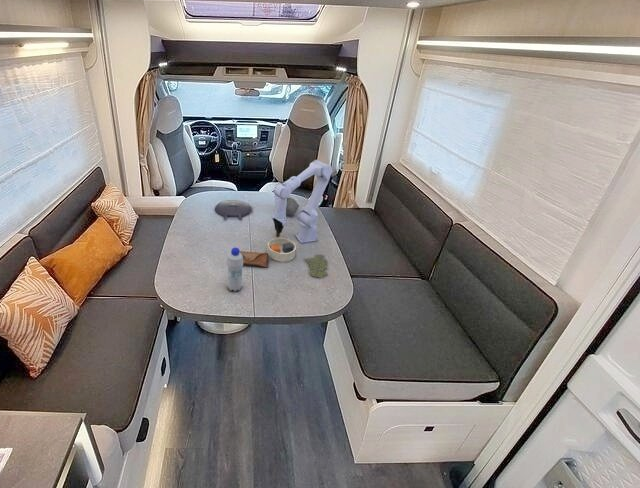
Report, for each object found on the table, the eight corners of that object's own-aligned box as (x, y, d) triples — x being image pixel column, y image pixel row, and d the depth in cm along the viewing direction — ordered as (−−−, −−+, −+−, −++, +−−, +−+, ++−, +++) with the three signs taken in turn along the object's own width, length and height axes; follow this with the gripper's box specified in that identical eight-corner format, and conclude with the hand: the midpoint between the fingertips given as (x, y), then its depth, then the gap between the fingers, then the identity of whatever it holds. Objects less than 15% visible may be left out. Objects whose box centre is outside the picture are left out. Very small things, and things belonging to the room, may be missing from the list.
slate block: (289, 249, 162) (290, 242, 160) (292, 253, 158) (293, 246, 157) (282, 250, 161) (283, 243, 159) (285, 254, 157) (286, 248, 156)
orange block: (276, 251, 160) (277, 244, 158) (279, 255, 156) (280, 248, 155) (269, 252, 159) (269, 245, 157) (272, 256, 155) (272, 250, 154)
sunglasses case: (230, 265, 148) (231, 250, 149) (231, 263, 155) (232, 250, 156) (268, 267, 147) (269, 253, 148) (267, 266, 154) (268, 252, 155)
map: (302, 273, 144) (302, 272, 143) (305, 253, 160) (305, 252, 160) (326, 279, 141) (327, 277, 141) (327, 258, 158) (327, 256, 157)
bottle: (226, 282, 137) (226, 244, 130) (241, 282, 138) (242, 243, 130) (227, 293, 131) (227, 253, 123) (243, 292, 132) (244, 253, 124)
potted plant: (289, 216, 189) (269, 203, 195) (292, 221, 200) (273, 209, 206) (300, 200, 190) (280, 188, 196) (302, 205, 202) (283, 194, 208)
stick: (278, 235, 163) (280, 219, 159) (280, 237, 161) (281, 221, 158) (275, 235, 162) (276, 220, 159) (276, 237, 161) (278, 222, 157)
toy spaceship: (252, 222, 188) (252, 217, 187) (212, 220, 188) (212, 216, 187) (251, 201, 214) (251, 197, 213) (216, 200, 214) (216, 196, 213)
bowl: (288, 244, 167) (288, 236, 165) (299, 259, 154) (300, 251, 153) (263, 247, 163) (263, 239, 161) (273, 264, 151) (273, 255, 149)
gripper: (267, 202, 161) (266, 225, 166) (278, 215, 148) (276, 239, 153) (280, 201, 163) (278, 223, 168) (292, 213, 150) (289, 238, 155)
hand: (278, 231), depth 161 cm, fingers closed on stick, 2 cm apart
